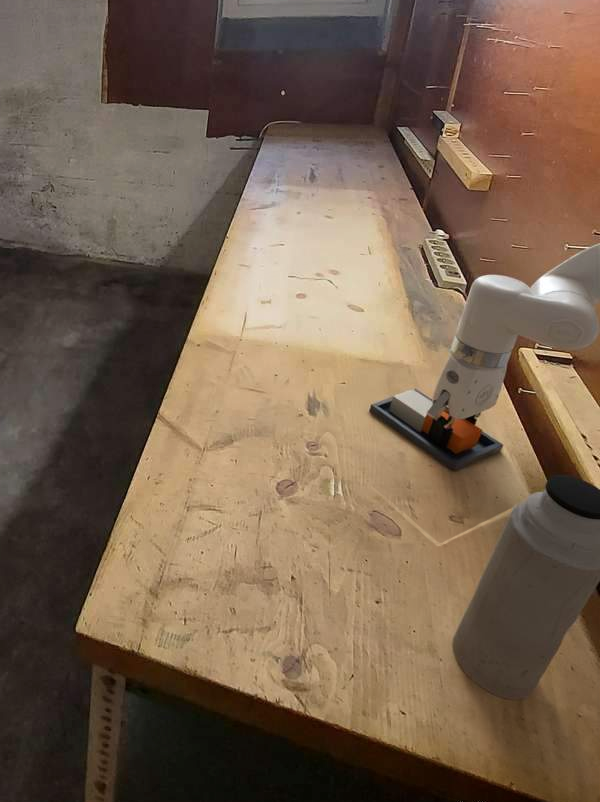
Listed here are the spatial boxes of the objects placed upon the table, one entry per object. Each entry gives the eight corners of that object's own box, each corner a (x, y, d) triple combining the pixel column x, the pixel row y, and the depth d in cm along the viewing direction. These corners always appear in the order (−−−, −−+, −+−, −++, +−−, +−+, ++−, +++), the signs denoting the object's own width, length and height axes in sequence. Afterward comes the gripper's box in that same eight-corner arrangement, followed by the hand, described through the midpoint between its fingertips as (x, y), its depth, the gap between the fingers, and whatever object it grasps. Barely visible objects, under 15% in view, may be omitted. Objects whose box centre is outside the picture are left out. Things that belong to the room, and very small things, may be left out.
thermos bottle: (530, 649, 68) (626, 480, 55) (538, 715, 62) (648, 541, 49) (451, 616, 71) (525, 451, 59) (452, 675, 65) (534, 504, 53)
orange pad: (440, 421, 102) (446, 406, 100) (476, 445, 96) (482, 429, 95) (421, 429, 100) (426, 414, 98) (456, 454, 95) (462, 438, 93)
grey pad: (407, 403, 107) (412, 388, 106) (439, 424, 102) (445, 409, 100) (388, 410, 106) (393, 395, 104) (420, 432, 100) (425, 417, 99)
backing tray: (412, 396, 110) (415, 388, 109) (500, 453, 96) (503, 444, 95) (368, 412, 106) (370, 404, 105) (452, 474, 92) (456, 465, 91)
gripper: (466, 376, 84) (434, 466, 92) (540, 349, 89) (503, 436, 98) (420, 350, 90) (394, 436, 98) (492, 326, 96) (461, 410, 104)
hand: (449, 435), depth 98 cm, fingers closed on orange pad, 5 cm apart
